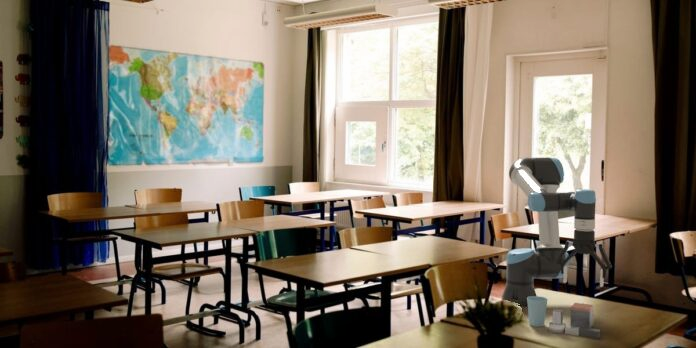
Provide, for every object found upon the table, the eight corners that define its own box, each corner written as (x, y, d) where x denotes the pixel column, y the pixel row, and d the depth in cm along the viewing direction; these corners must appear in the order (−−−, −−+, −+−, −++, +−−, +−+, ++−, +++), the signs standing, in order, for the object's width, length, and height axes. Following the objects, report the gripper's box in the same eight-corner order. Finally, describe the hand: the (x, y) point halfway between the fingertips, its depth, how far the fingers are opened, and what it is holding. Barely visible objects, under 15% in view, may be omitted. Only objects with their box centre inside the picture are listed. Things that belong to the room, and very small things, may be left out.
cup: (525, 321, 270) (526, 295, 269) (545, 322, 268) (546, 296, 267) (527, 327, 262) (527, 300, 261) (547, 328, 261) (548, 301, 260)
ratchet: (600, 335, 251) (601, 314, 251) (597, 339, 246) (598, 318, 245) (551, 328, 260) (551, 307, 260) (547, 332, 255) (547, 311, 255)
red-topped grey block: (570, 327, 262) (570, 306, 261) (574, 322, 268) (574, 302, 267) (589, 329, 258) (589, 309, 258) (593, 325, 264) (593, 305, 264)
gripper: (549, 228, 264) (548, 282, 265) (617, 233, 251) (615, 290, 253) (553, 226, 270) (552, 278, 272) (620, 230, 258) (619, 286, 259)
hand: (583, 284), depth 262 cm, fingers open, 13 cm apart
